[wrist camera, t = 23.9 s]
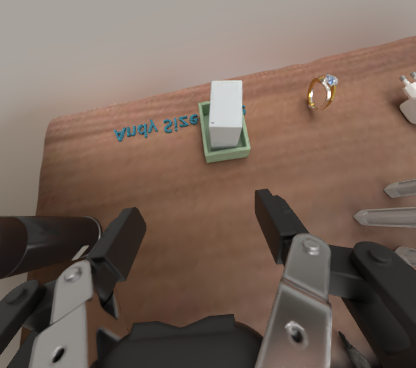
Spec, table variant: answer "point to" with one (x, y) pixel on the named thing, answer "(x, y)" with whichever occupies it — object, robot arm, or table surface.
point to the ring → (330, 87)
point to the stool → (394, 216)
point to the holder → (228, 154)
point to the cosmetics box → (225, 114)
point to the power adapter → (412, 107)
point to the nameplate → (156, 128)
